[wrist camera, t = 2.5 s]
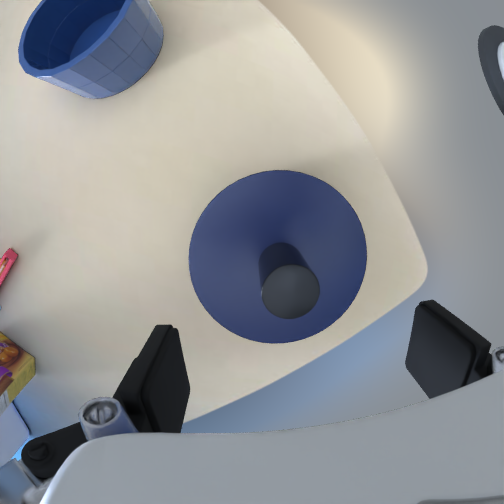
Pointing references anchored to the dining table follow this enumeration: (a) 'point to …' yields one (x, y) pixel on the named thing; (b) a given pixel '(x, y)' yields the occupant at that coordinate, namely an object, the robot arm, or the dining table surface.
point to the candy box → (13, 371)
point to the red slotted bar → (6, 264)
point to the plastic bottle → (11, 433)
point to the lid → (277, 256)
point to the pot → (91, 44)
